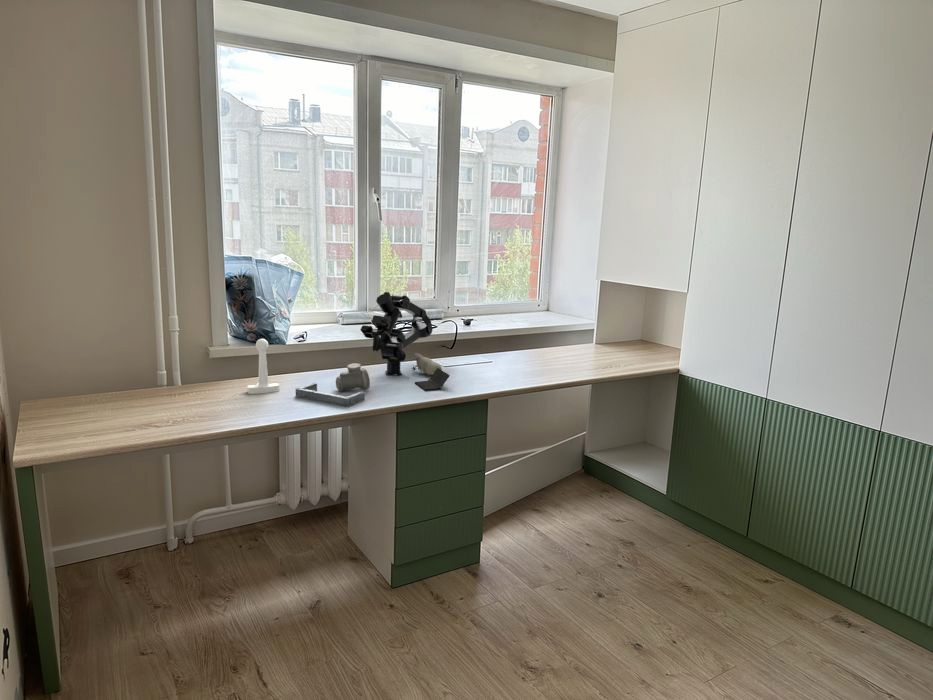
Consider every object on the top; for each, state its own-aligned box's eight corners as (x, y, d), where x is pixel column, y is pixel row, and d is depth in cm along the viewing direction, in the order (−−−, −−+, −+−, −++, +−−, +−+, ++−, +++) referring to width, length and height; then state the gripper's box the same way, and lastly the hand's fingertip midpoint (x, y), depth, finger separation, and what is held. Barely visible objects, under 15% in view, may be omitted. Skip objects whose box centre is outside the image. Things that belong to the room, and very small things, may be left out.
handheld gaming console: (409, 380, 249) (426, 358, 250) (422, 389, 254) (438, 368, 255) (425, 392, 240) (442, 369, 241) (438, 402, 245) (455, 379, 246)
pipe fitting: (364, 384, 246) (362, 359, 242) (371, 391, 239) (369, 366, 236) (334, 390, 241) (332, 365, 237) (341, 397, 234) (338, 372, 230)
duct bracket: (313, 390, 237) (313, 382, 236) (364, 399, 227) (364, 391, 226) (295, 396, 228) (295, 388, 227) (348, 407, 218) (348, 398, 217)
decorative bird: (434, 380, 258) (434, 361, 256) (409, 371, 270) (410, 353, 269) (445, 378, 261) (445, 359, 260) (420, 370, 274) (421, 352, 272)
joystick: (248, 394, 228) (246, 340, 224) (246, 389, 235) (244, 336, 231) (280, 391, 233) (278, 339, 229) (276, 386, 240) (275, 335, 236)
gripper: (362, 305, 255) (346, 336, 248) (402, 309, 247) (386, 341, 240) (373, 321, 264) (358, 352, 256) (411, 326, 256) (397, 357, 248)
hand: (374, 350), depth 250 cm, fingers closed
